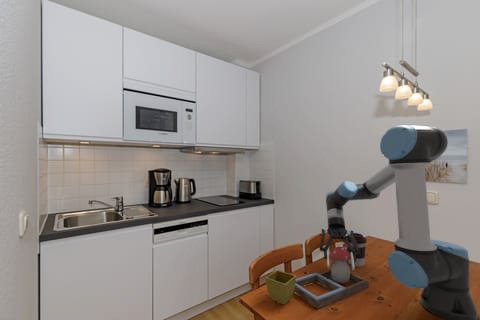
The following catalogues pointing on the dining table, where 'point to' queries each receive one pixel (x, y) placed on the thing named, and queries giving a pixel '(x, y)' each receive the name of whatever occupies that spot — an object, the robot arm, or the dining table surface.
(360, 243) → the coffee cup
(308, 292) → the slate-blue rim
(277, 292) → the flower pot
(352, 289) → the gray organizer
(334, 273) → the decorative ornament
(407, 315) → the dining table surface
